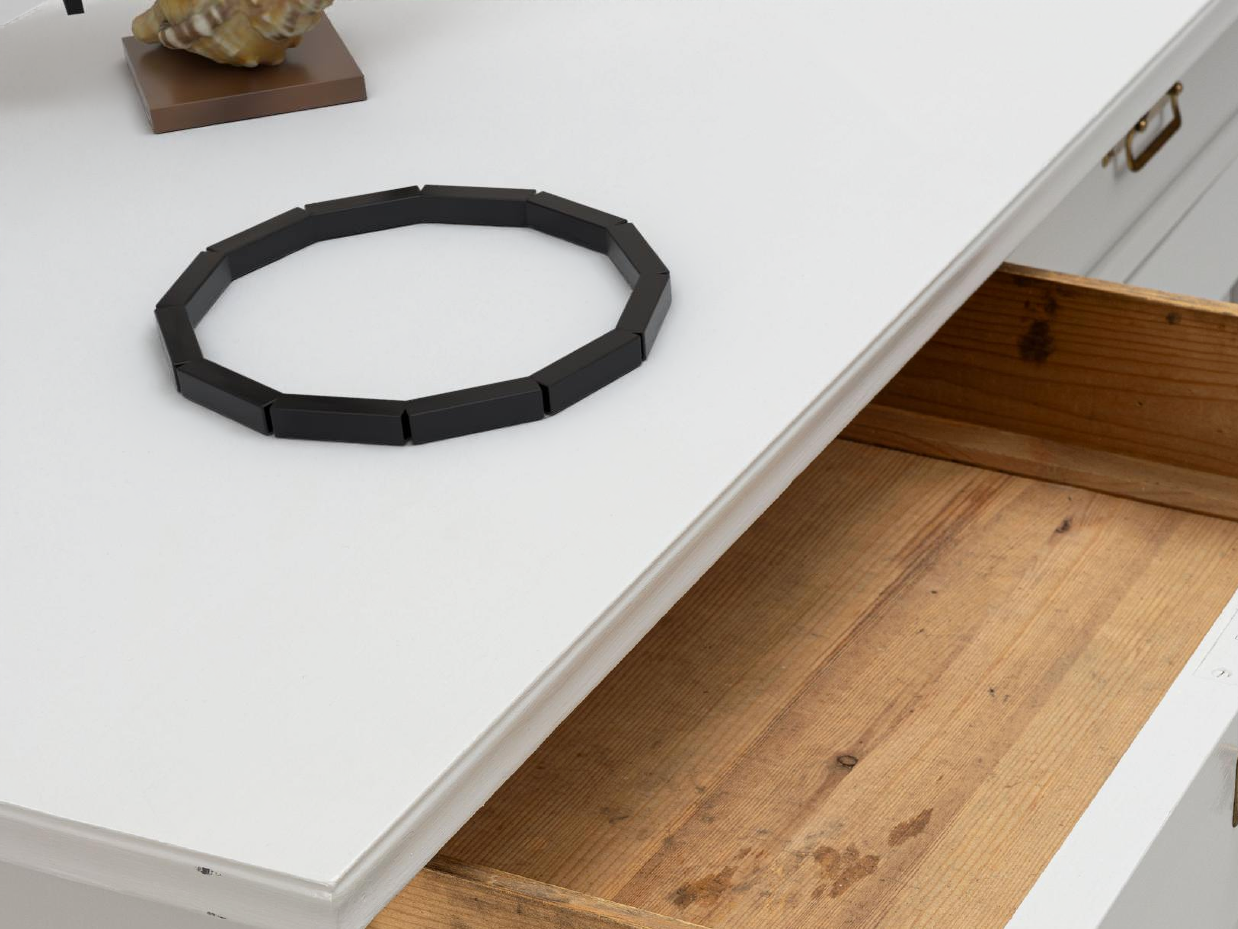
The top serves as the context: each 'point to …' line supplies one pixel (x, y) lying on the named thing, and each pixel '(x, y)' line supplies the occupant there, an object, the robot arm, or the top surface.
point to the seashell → (230, 27)
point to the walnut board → (242, 81)
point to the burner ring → (433, 412)
